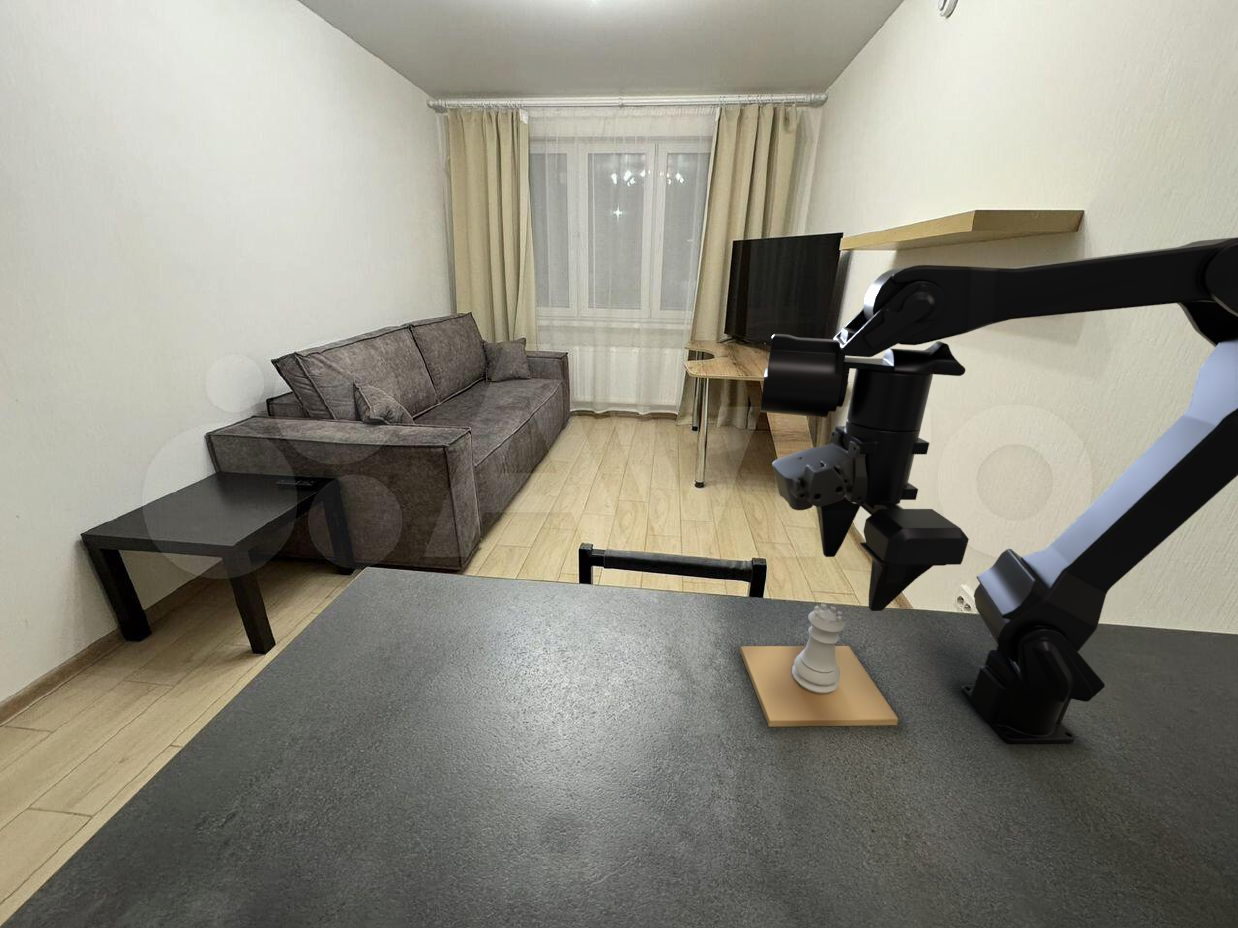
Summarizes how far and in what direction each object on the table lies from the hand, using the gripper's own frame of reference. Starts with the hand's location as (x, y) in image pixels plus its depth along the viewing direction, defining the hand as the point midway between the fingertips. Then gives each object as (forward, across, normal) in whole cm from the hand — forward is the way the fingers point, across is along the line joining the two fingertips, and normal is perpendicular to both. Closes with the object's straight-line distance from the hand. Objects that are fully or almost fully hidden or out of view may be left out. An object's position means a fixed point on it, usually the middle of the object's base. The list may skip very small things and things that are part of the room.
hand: (850, 580), depth 50 cm
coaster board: (+11, +1, -2) cm, 12 cm away
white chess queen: (+11, +1, -2) cm, 11 cm away
